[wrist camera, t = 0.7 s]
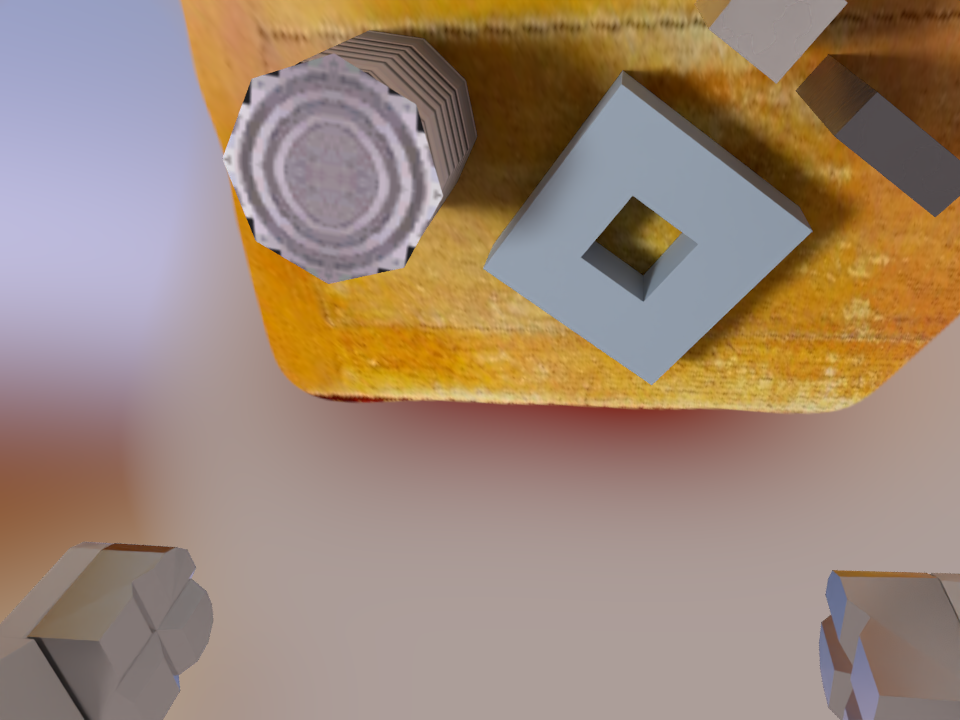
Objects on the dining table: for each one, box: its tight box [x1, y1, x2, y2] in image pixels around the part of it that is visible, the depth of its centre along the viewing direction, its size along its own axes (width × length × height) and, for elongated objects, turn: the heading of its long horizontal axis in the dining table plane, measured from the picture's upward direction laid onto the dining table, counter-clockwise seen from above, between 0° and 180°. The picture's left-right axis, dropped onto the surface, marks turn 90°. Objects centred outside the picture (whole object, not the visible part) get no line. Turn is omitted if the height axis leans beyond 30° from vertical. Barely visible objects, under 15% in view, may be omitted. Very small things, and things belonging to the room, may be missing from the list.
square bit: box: [695, 0, 847, 84], centre depth 36 cm, size 4×4×10 cm
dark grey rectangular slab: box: [796, 54, 960, 217], centre depth 38 cm, size 2×6×10 cm, turn 57°
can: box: [223, 31, 477, 284], centre depth 42 cm, size 11×11×12 cm
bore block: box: [483, 71, 812, 385], centre depth 46 cm, size 14×14×4 cm
